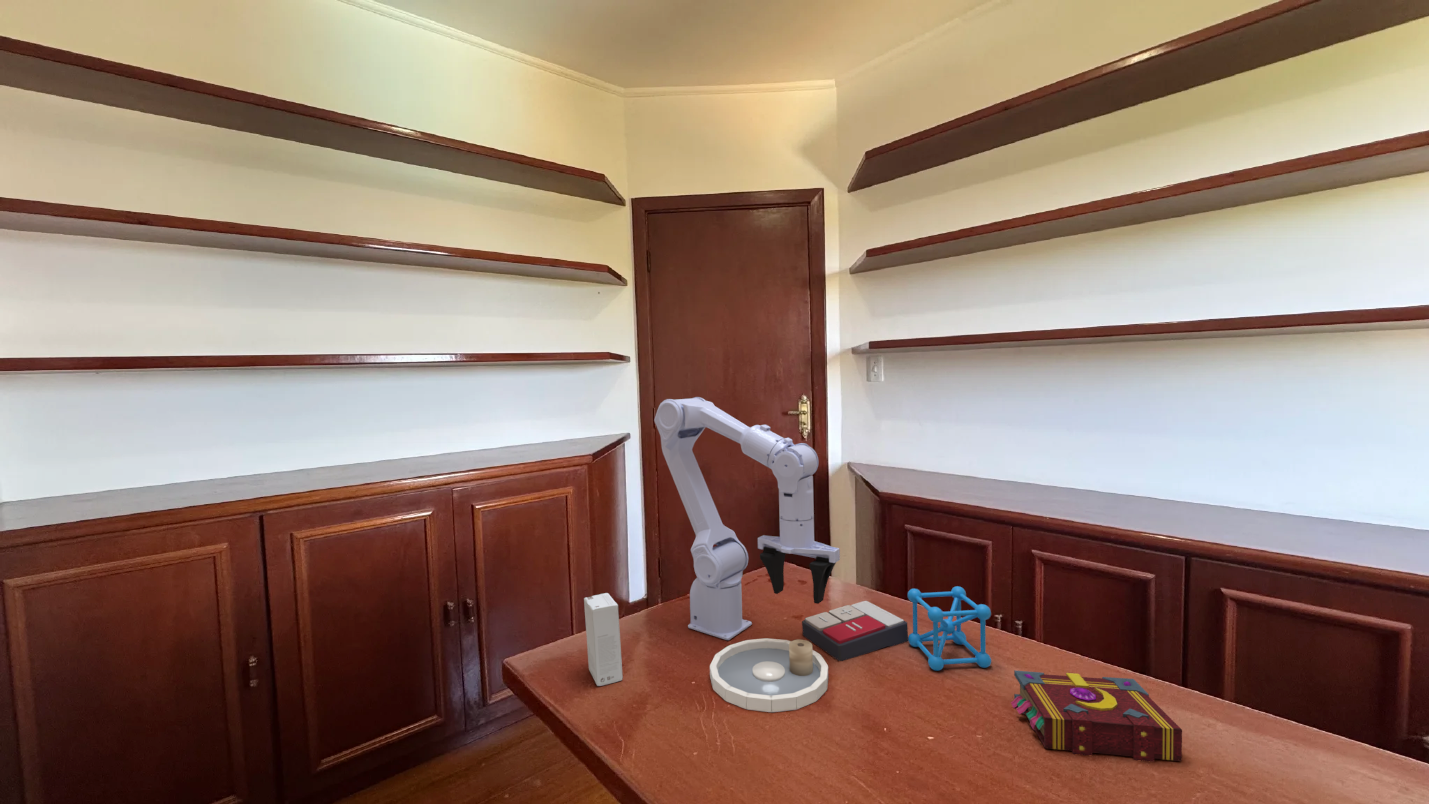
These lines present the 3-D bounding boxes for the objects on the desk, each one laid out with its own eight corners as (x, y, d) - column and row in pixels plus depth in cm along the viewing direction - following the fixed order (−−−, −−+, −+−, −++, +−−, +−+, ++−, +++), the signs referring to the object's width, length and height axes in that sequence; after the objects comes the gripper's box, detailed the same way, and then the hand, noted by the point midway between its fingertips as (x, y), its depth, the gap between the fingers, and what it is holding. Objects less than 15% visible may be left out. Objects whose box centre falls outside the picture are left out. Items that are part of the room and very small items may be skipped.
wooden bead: (785, 671, 87) (784, 646, 87) (796, 661, 90) (796, 637, 90) (806, 678, 85) (805, 652, 85) (816, 668, 88) (816, 643, 88)
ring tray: (687, 685, 85) (686, 674, 85) (751, 639, 100) (751, 629, 99) (791, 727, 74) (791, 714, 74) (846, 668, 89) (846, 657, 89)
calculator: (800, 616, 101) (866, 596, 107) (802, 639, 101) (867, 618, 107) (838, 641, 91) (908, 618, 97) (840, 667, 91) (909, 642, 98)
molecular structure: (994, 670, 87) (994, 607, 87) (932, 674, 87) (931, 610, 86) (962, 640, 97) (961, 583, 97) (906, 643, 97) (905, 586, 96)
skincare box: (623, 680, 87) (621, 604, 87) (595, 688, 85) (592, 610, 85) (613, 663, 93) (610, 591, 92) (586, 669, 91) (583, 596, 90)
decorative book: (1184, 767, 65) (1185, 725, 65) (1034, 752, 69) (1034, 712, 68) (1132, 710, 77) (1133, 674, 76) (1005, 700, 80) (1005, 665, 80)
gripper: (747, 516, 95) (749, 595, 96) (825, 528, 86) (827, 614, 87) (768, 508, 101) (770, 582, 101) (844, 518, 92) (846, 599, 93)
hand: (798, 596), depth 95 cm, fingers open, 7 cm apart
